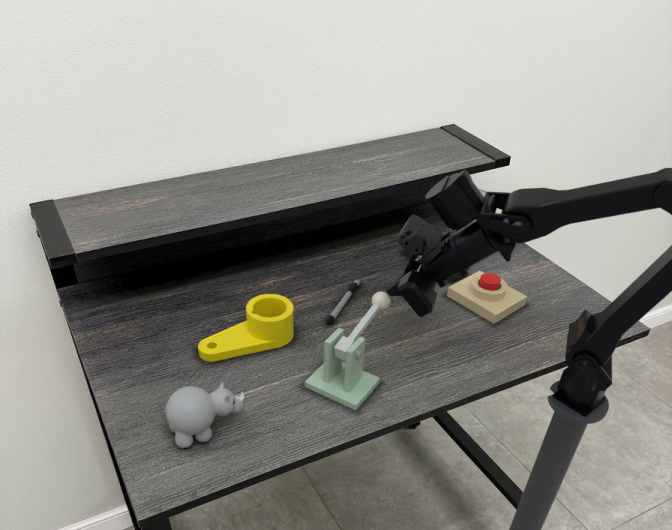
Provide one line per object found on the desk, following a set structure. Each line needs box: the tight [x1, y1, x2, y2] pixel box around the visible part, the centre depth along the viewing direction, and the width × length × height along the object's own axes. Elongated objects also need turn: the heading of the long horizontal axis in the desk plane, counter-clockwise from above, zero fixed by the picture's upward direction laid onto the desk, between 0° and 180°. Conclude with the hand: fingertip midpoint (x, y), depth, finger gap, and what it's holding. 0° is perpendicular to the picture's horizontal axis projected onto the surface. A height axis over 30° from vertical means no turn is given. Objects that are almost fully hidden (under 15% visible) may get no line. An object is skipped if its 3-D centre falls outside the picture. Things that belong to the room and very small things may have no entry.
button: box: [479, 272, 502, 291], centre depth 123 cm, size 4×4×2 cm
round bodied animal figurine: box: [164, 381, 245, 449], centre depth 94 cm, size 7×12×8 cm, turn 114°
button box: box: [446, 270, 528, 325], centre depth 125 cm, size 12×10×4 cm
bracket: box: [304, 327, 381, 411], centre depth 103 cm, size 8×10×10 cm
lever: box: [334, 291, 391, 362], centre depth 104 cm, size 15×3×3 cm, turn 148°
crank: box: [197, 293, 295, 363], centre depth 111 cm, size 18×8×6 cm, turn 121°
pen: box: [325, 278, 361, 325], centre depth 123 cm, size 1×16×1 cm, turn 158°
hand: (388, 292), depth 105 cm, fingers closed
